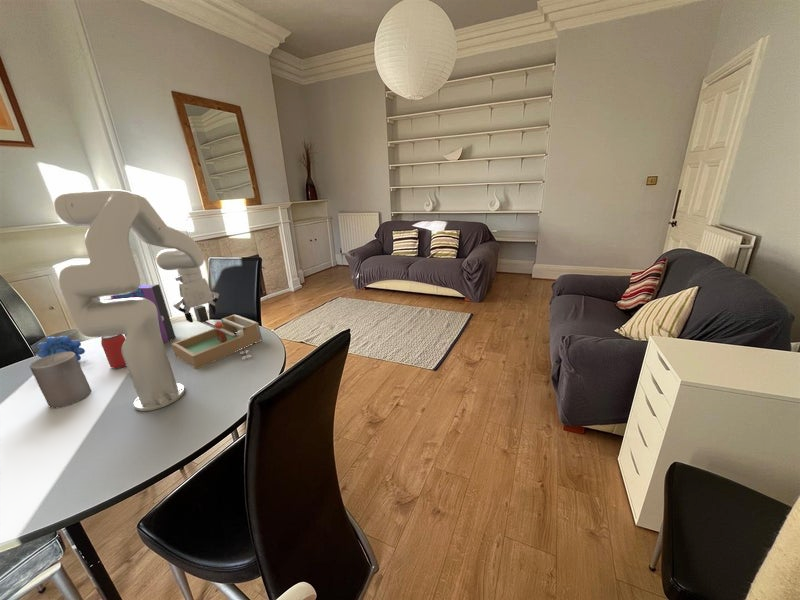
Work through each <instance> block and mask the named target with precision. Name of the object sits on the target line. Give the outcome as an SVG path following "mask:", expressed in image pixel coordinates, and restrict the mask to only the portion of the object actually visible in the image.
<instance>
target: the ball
mask: <svg viewBox="0 0 800 600" xmlns="http://www.w3.org/2000/svg"><path fill="white" fill-rule="evenodd" d="M242 335H244V332H243V330H239V331H238V332H237V333H236V336H235V337H239V336H242Z"/></svg>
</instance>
